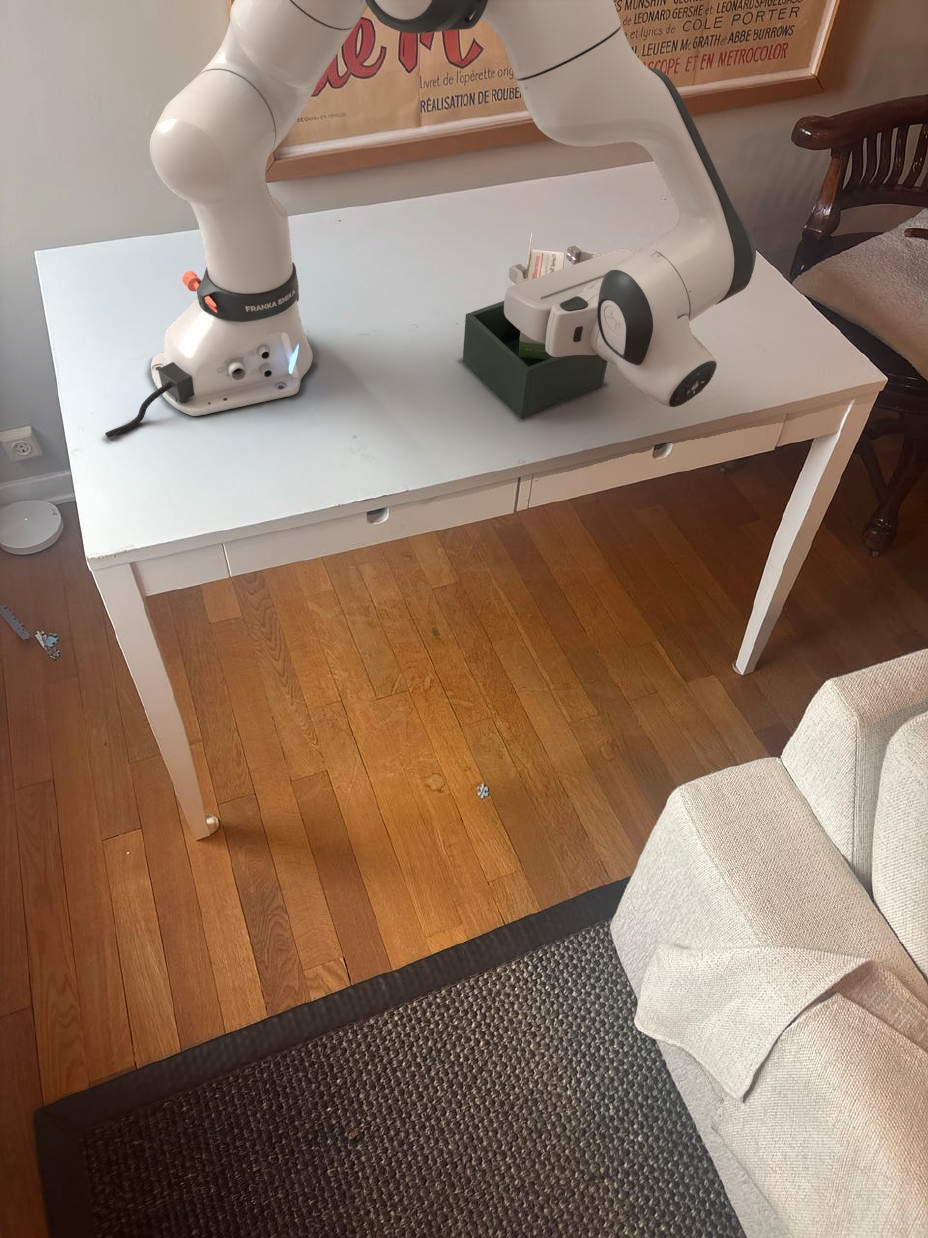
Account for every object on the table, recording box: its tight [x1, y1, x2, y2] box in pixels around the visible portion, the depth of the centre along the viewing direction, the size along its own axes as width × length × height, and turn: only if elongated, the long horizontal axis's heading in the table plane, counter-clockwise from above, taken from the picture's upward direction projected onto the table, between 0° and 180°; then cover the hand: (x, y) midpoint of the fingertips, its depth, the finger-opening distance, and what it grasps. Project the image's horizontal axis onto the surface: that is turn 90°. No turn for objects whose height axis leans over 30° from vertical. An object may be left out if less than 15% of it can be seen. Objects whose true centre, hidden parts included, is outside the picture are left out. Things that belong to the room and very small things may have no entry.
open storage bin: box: [462, 300, 609, 419], centre depth 136 cm, size 15×15×8 cm
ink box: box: [519, 230, 565, 359], centre depth 131 cm, size 9×5×15 cm, turn 173°
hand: (542, 260), depth 126 cm, fingers open, 8 cm apart
